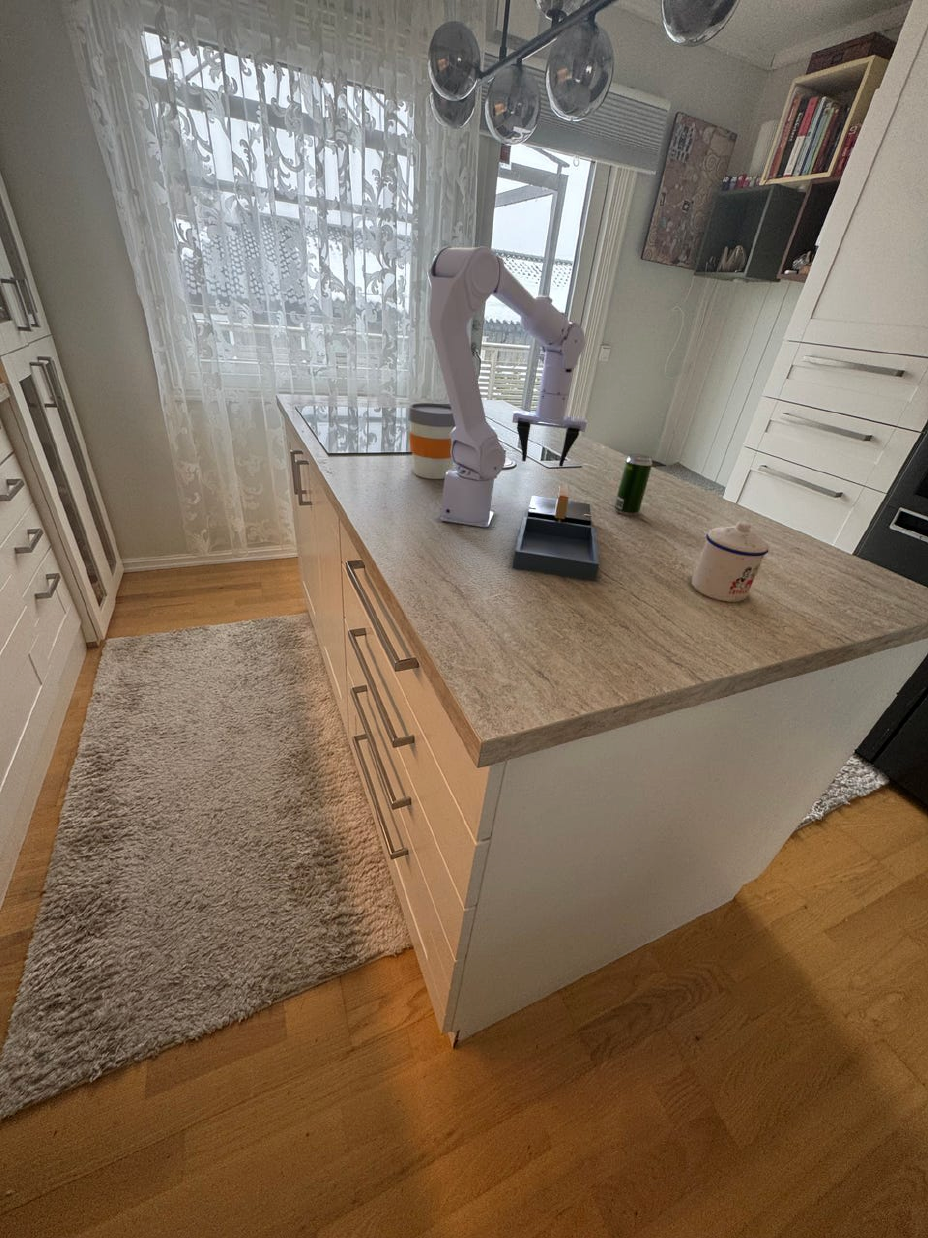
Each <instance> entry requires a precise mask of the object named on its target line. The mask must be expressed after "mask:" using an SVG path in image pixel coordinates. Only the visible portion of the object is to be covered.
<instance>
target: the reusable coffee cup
mask: <svg viewBox="0 0 928 1238" xmlns="http://www.w3.org/2000/svg"><path fill="white" fill-rule="evenodd" d="M407 420H408V421H409V430H408V438H409V447H410V452H411V454H412V464H413V473H414V474H415V475H416V476H418V477H420V478H424V479H430V480H443V479H445V476H446V473H447V471H453V466H454V462H453V460H452V458H451V454H450V450H451V438H450V433H451V431H452V430H453V429H454V428H455V427H456V425H455V421H454V417H453V413H452V410H451V406H450V404H445V403H444V404H443V403H436V402H435V403H434V402H418V403H417V402H416V403H412V404H410V405H409V408H408V417H407Z"/></svg>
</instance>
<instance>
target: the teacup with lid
mask: <svg viewBox="0 0 928 1238" xmlns="http://www.w3.org/2000/svg"><path fill="white" fill-rule="evenodd" d="M751 527H752V526H751V523H749V522H747V521H738V522H737V523H736V524H735V525H731V526H726V527H714V528H712V529H711V530H709V531H708V532H707V533H706V537H705V538H706V540H705V543H704V545H703V548H702V551H701V553H700V557H699V559H698V562H697V564H696V568H695V570H694V572H693V575H692V578H691V585H692V587H693V588H694V589H695V590H696V591H698V592H699V593H700V594H701V595H704V596H706V597H708V598H712V599H714V600H717V601H720V602H721V601H722V602H728V603H729V602H730V603H735V602H741V601H743V600H745V599H746V598H747V596H748V594H749V593H750V589H751V587H752V585H753V583H754V581H755V578H756V577H757V574H758V572H759V569H760V567H761V565H762V562H763V560H764V558H765V556H766V554H768V553H769V548H770V546H769V543H768V542H767V540H765V539H764V538H763V537H760V536H759V535H757V533H756V532H754V531H753V530H751Z"/></svg>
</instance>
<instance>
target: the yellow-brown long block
mask: <svg viewBox="0 0 928 1238" xmlns="http://www.w3.org/2000/svg"><path fill="white" fill-rule="evenodd" d="M569 489H570V486H569V485H565V484H559V487H558V491H557V497H556V499H557V501H556V510H555V518H559V519H565V514H566V509H567V504H568V501H569V494H570V491H569Z"/></svg>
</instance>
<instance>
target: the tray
mask: <svg viewBox="0 0 928 1238" xmlns="http://www.w3.org/2000/svg"><path fill="white" fill-rule="evenodd" d="M597 537H598V536H597V529H596V526H594V525H593V526H592V525H590V526H586V525H580V524H573V523H566V522H560V523H558V521H553V520H546V519H539V518H532V517H528V516H522V519H521V524H520V529H519V533H518V536H517V540H516V546H515V550H514V554H513V562H512V569H517V570H523V571H529V572H535V573H543V574H549V575H555V576H560V577H568V578H574V579H580V580H585V581H593V582H595V581H596V579H597V575H598V572H599V568H600V558H599V557H600V555H599V547H598V538H597Z"/></svg>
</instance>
